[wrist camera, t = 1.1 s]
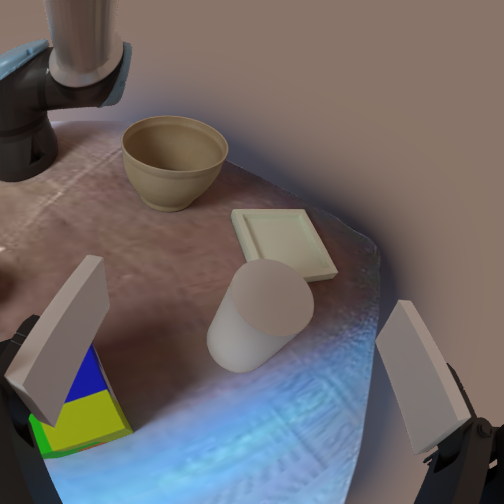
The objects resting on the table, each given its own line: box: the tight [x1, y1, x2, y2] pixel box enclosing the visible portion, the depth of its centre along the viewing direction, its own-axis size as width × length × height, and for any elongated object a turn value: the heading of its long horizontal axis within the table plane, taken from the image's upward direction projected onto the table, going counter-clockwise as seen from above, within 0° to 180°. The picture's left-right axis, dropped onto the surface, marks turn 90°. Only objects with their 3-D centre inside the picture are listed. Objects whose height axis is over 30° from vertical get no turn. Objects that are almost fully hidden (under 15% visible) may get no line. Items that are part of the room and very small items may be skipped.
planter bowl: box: [121, 116, 228, 212], centre depth 43 cm, size 16×16×11 cm
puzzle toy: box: [0, 339, 134, 459], centre depth 20 cm, size 10×10×10 cm
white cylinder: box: [207, 259, 314, 373], centre depth 31 cm, size 8×8×12 cm
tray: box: [230, 209, 338, 283], centre depth 47 cm, size 14×14×2 cm
